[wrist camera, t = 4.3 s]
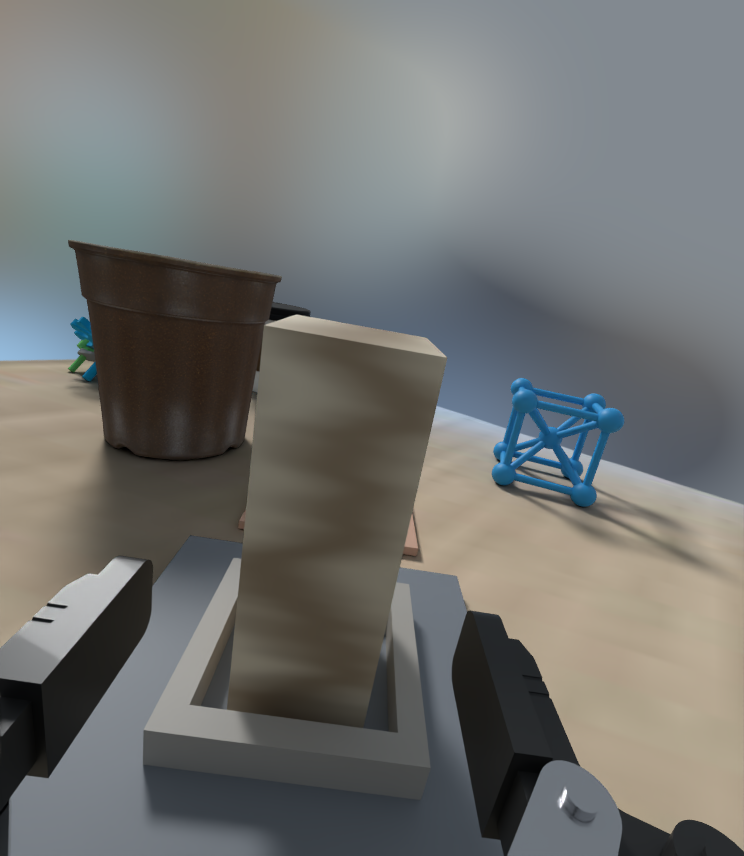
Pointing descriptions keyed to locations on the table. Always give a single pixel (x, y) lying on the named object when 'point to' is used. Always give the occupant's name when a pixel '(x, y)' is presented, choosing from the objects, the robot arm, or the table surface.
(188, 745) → the puzzle board
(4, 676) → the robot arm
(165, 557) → the table surface
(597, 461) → the molecular structure
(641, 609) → the table surface
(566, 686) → the table surface
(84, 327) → the gear
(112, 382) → the plant pot
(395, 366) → the maple block
